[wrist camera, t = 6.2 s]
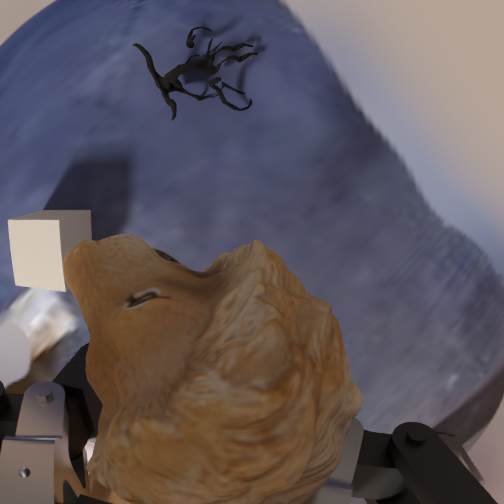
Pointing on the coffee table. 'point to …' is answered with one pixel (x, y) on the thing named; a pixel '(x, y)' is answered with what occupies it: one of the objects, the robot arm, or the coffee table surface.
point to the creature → (202, 65)
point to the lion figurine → (209, 376)
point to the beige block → (46, 245)
